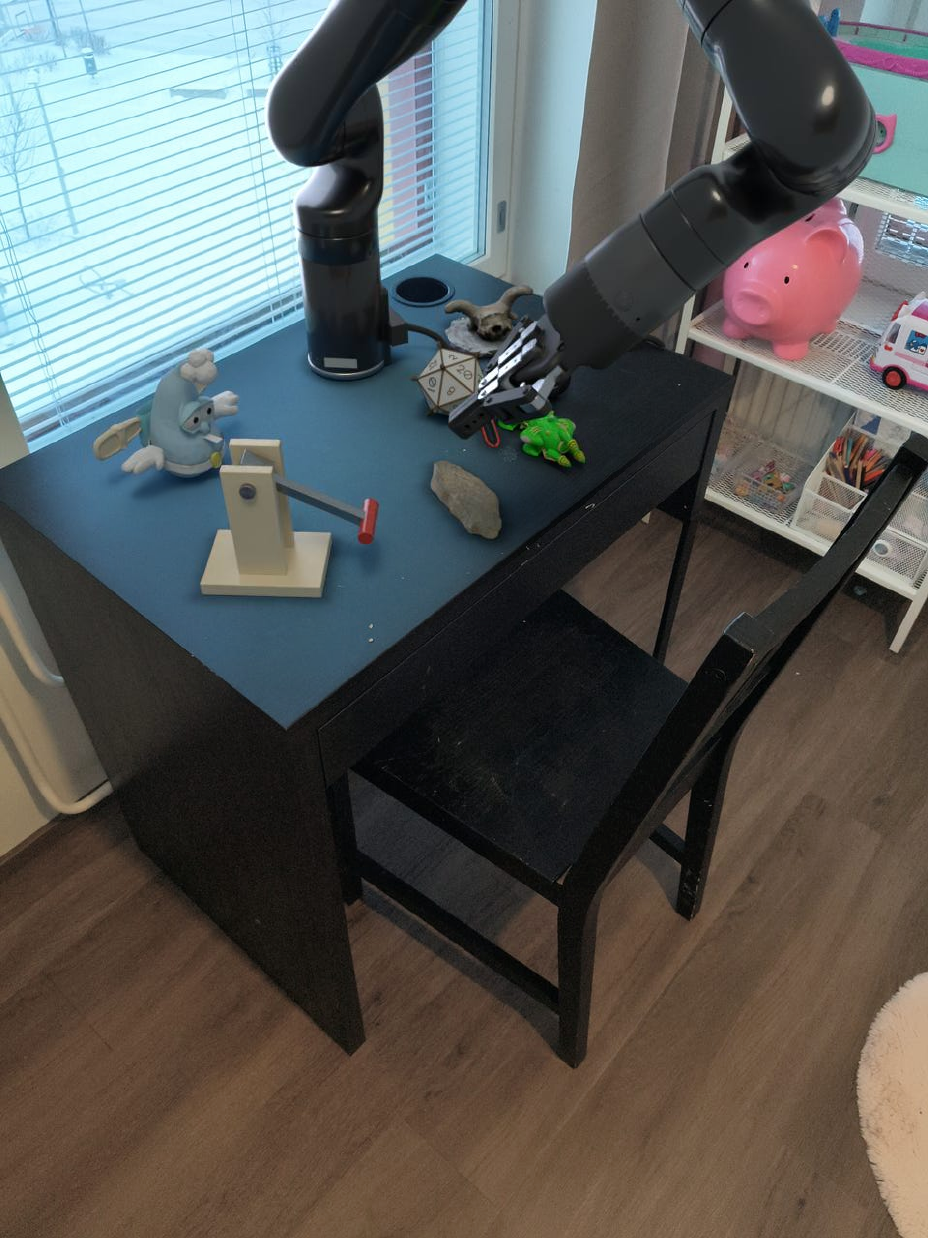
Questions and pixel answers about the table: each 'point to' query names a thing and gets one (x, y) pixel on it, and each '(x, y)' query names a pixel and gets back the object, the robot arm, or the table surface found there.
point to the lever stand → (262, 534)
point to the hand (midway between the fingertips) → (455, 428)
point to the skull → (483, 322)
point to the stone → (467, 499)
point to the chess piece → (560, 388)
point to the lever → (322, 499)
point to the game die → (449, 379)
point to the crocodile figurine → (549, 438)
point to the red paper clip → (494, 433)
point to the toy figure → (175, 423)
